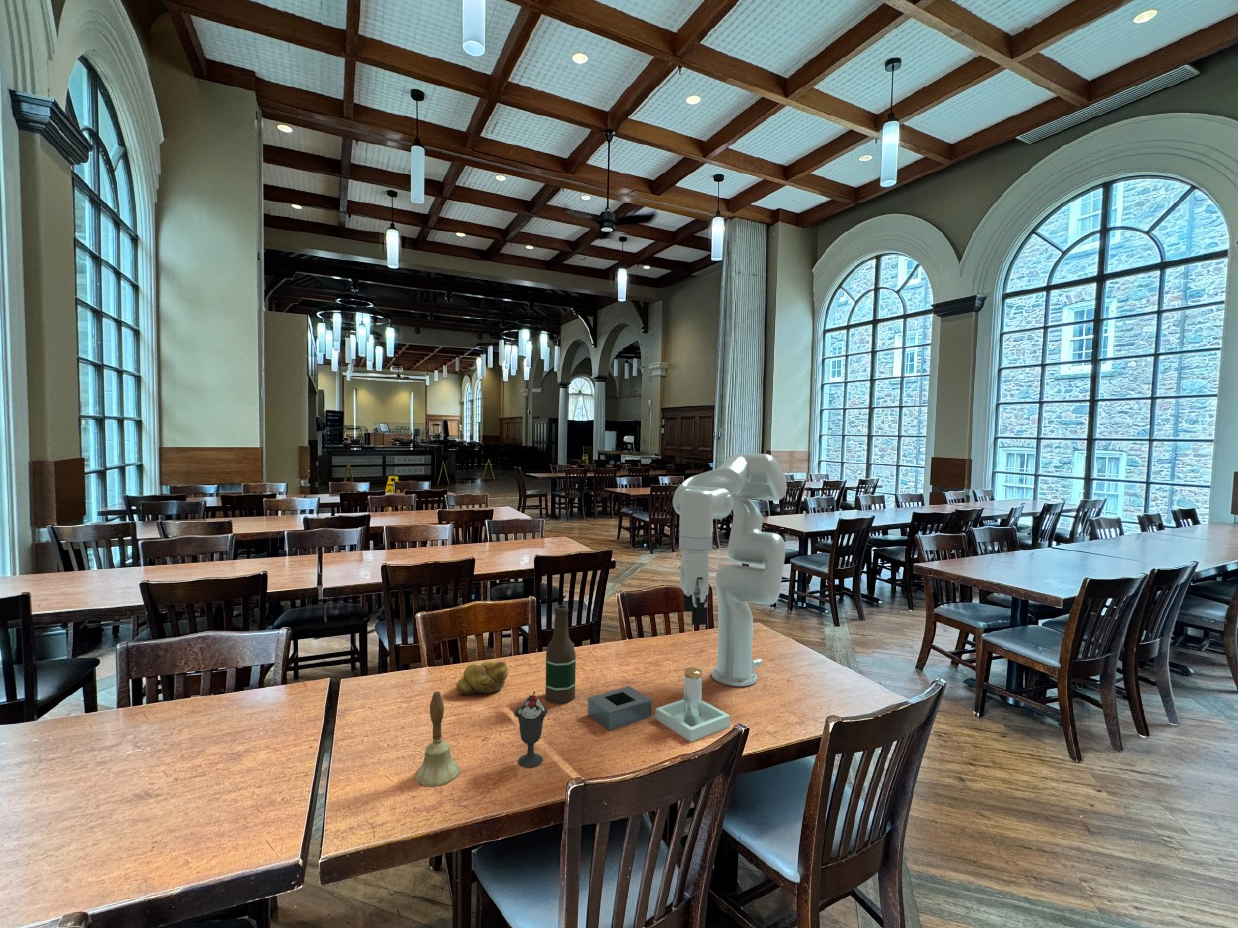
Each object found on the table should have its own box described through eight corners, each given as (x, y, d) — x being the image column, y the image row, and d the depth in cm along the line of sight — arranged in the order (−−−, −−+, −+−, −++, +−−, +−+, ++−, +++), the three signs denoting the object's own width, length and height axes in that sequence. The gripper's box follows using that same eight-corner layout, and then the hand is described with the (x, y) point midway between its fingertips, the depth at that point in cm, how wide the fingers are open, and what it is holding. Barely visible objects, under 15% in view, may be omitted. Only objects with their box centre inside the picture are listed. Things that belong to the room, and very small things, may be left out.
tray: (693, 709, 135) (693, 695, 135) (729, 730, 126) (730, 715, 126) (655, 723, 128) (655, 708, 128) (690, 746, 119) (691, 730, 119)
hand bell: (422, 791, 101) (422, 706, 101) (409, 770, 108) (409, 689, 108) (465, 776, 106) (466, 695, 106) (451, 757, 113) (451, 680, 113)
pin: (681, 718, 129) (682, 667, 129) (698, 717, 129) (699, 667, 129) (685, 726, 125) (686, 674, 125) (702, 726, 125) (703, 674, 125)
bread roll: (457, 701, 138) (457, 669, 138) (455, 685, 147) (455, 655, 147) (508, 694, 143) (509, 663, 142) (503, 679, 152) (504, 650, 151)
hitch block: (628, 705, 137) (629, 685, 137) (651, 720, 130) (651, 699, 130) (587, 718, 130) (588, 697, 130) (609, 735, 123) (609, 712, 123)
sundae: (532, 773, 108) (533, 697, 107) (507, 763, 111) (507, 689, 111) (553, 758, 113) (554, 685, 113) (529, 748, 117) (529, 678, 116)
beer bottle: (570, 709, 134) (572, 612, 134) (540, 706, 136) (541, 609, 135) (579, 696, 142) (580, 603, 141) (550, 692, 143) (551, 601, 143)
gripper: (673, 537, 135) (671, 606, 135) (686, 550, 117) (685, 630, 118) (703, 537, 135) (702, 606, 136) (721, 550, 118) (720, 629, 118)
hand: (694, 617), depth 127 cm, fingers open, 9 cm apart
